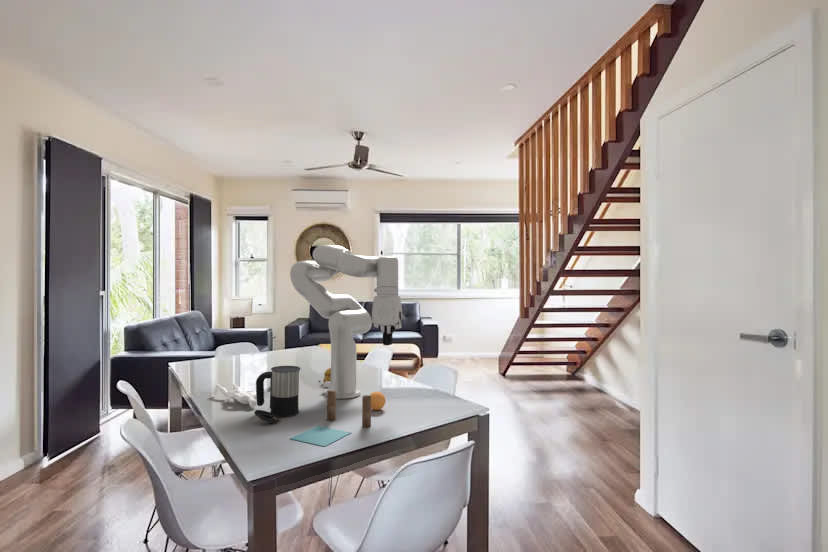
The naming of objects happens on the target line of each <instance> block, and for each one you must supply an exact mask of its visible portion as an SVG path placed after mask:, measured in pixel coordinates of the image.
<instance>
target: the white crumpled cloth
mask: <svg viewBox="0 0 828 552" xmlns="http://www.w3.org/2000/svg"><path fill="white" fill-rule="evenodd" d="M218 392H220V393H221V394H222V395H223V396H224V399H223V400H224V401H223V402H224V403H225V404H227V403H229V404H231V401H230V400H233V399H235V400H237V402H238V403H241V404H244V405H245V404H248V405H249V407H250V408H255V407H256V406H257V396H256V390H252V391H246V390H245V389H242V388H241V387H240V386H239V385H238V386H237V385H236V384H235V383H233V384H232V390H229V391H228V390H227V388H225V387H223V386H221V385H220V384H218V383H217V384H216V385H215V387H214V390H213V395H214V396H216V395H218Z"/></svg>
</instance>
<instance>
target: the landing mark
mask: <svg viewBox="0 0 828 552" xmlns="http://www.w3.org/2000/svg"><path fill="white" fill-rule="evenodd" d="M351 434H352V432H351V431H346V430H340V429H336V428H331V427H327V426H326V427H325V426H322V425H321V426H320V425H317V426H315V427H313V428H310V429H308V430H306V431H303V432H301V433H299V434H296V435H294V436H292V437H290V438H289V440H294V441H298V442H302V443H306V444H310V445H315V446H318V447H319V446H320V447H323V448H325V447H328V446H329V445H332V444H333V443H335V442H338V441H339V440H341V439H343V438H345V437H347V436H349V435H351Z"/></svg>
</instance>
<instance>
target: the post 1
mask: <svg viewBox="0 0 828 552" xmlns="http://www.w3.org/2000/svg"><path fill="white" fill-rule="evenodd" d="M326 392H327V395H326V398H327V399H326V402H327V403H326V405H327V407H326V420H327V421H329V422H334V421H336V418H337V417H336V416H337V415H336V409H337V408H336V404H337V403H336V402H337V401H336V400H337V399H336V390H326Z"/></svg>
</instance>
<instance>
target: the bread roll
mask: <svg viewBox="0 0 828 552" xmlns="http://www.w3.org/2000/svg"><path fill="white" fill-rule="evenodd" d="M323 374H324V376H323V381H322V382H323V384H324V383H325V381H330V382H331V367H329V368H327V369H326V370H325V372H324V373H323Z"/></svg>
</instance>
